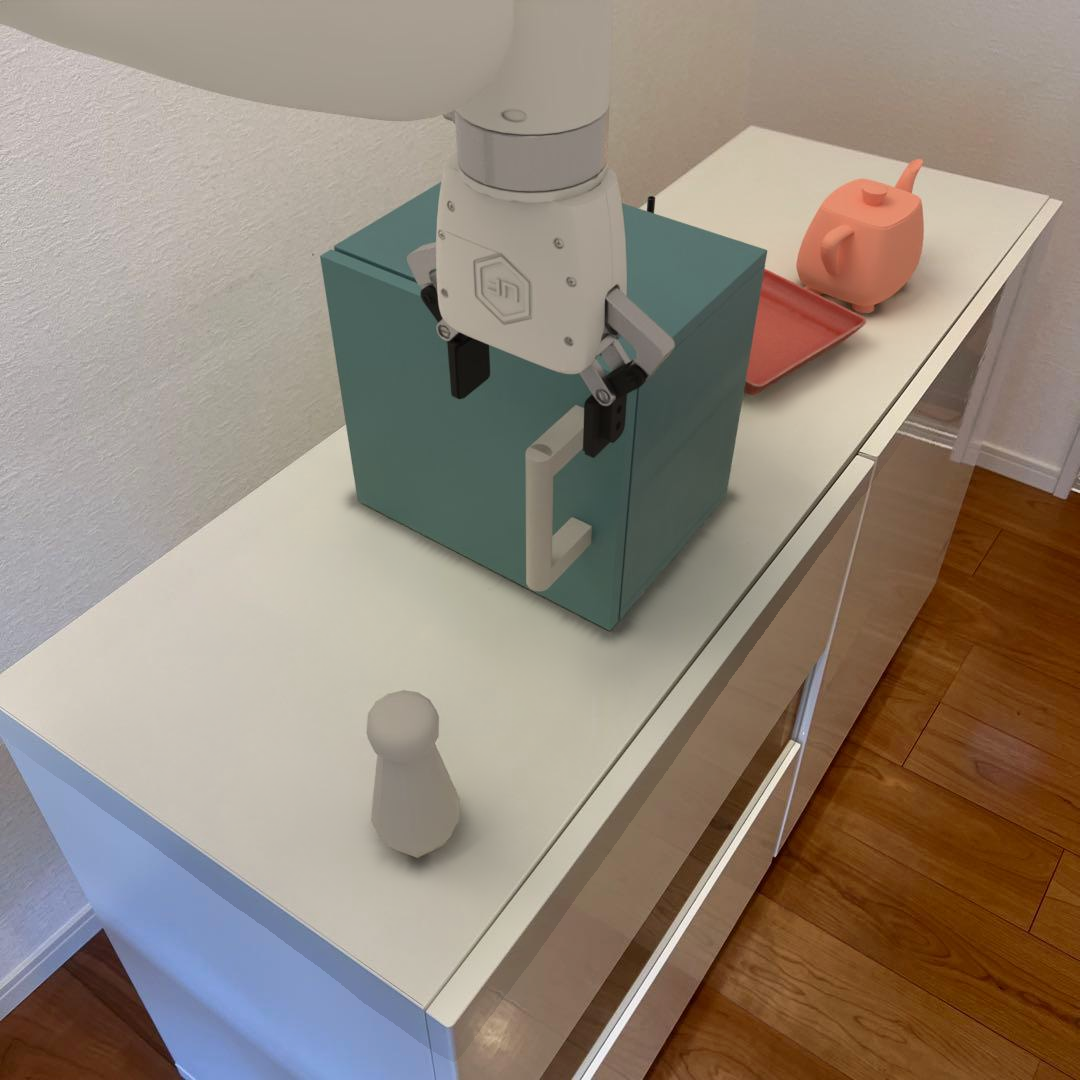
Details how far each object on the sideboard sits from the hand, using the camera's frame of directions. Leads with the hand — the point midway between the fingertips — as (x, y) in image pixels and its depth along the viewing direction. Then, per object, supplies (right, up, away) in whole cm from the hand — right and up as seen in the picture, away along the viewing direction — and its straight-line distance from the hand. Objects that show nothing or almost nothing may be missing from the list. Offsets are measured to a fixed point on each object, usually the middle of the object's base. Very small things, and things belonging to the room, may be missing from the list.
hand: (534, 414), depth 65 cm
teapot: (+36, +21, +57) cm, 70 cm away
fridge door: (-7, -11, +23) cm, 26 cm away
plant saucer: (+22, +13, +48) cm, 55 cm away
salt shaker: (-8, -27, +7) cm, 29 cm away
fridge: (+1, -4, +31) cm, 31 cm away
